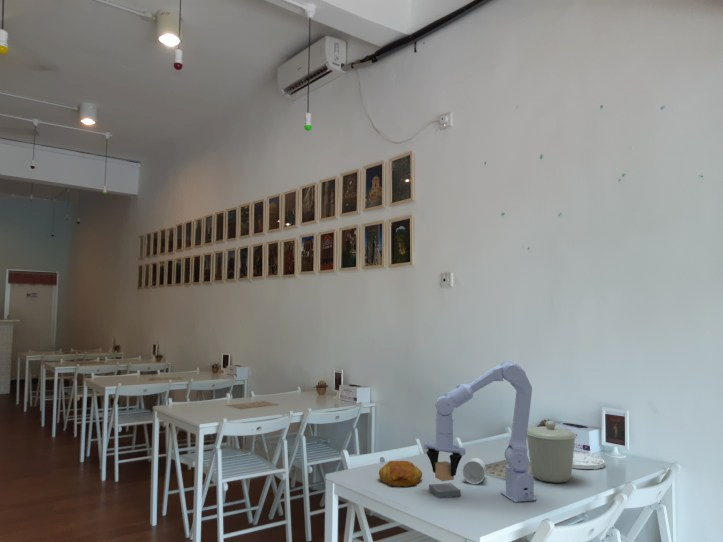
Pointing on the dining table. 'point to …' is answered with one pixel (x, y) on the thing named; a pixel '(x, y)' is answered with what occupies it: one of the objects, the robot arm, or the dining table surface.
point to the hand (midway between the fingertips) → (444, 473)
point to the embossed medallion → (587, 461)
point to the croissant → (400, 473)
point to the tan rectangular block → (443, 471)
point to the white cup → (474, 471)
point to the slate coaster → (444, 490)
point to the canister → (551, 452)
